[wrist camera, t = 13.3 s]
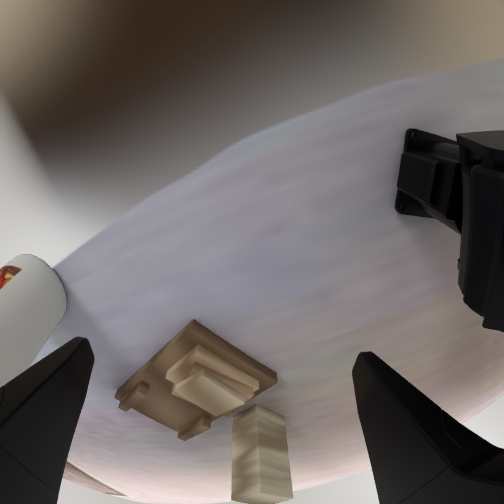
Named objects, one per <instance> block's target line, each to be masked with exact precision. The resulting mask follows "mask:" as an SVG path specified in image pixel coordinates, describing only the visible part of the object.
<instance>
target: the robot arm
mask: <svg viewBox="0 0 504 504" xmlns="http://www.w3.org/2000/svg"><path fill="white" fill-rule="evenodd" d="M412 132H413V133H414V137H413V138H412V137H411V134H412ZM456 138H457V142H456V141H453V140H450V139H447V138H444V137H441V136H438V135H435V134H431V133H428V132H425V131H421V130H418V129H413V128H409V129H408V130H407V131H406V136H405V144H404V152H403V154H402V157H401V164H400V171H399V177H398V183H397V187H398V191H397V197H396V202H395V210H396V211H397V212H398V213H400V214H404V215H412V216H420V217H428V218H435V219H437V220H439V221H440V222H442V223H444V224H445V225H447V226H448V227H450V228H451V229H453V230H454V231H456V232H457V233H459V234H460V235H461V246H460V259H458V269H459V275H458V284H459V287H460V289H461V292H462V294H463V295H464V297H463V301H464V302H465V303H466V304H467V305H468V306H469V308H470V309H472V310H473V311H474V312H476V313H477V314H479V315H480V316H482V317H484V320H483V324H482V326H483V327H484V328H487V329H493V330H499V331H502V332H504V131H503V130H498V131H483V132H470V133H460V134H456ZM401 205H403V208H402V209H400V206H401ZM93 364H94V354H93V351H92V349H91V346H90V343H89V341H88V339H87V338H83V337H75V338H73V339H72V340H70V341H69V342H67V343H66V344H64V345H63V346H61V347H60V348H58V349H57V350H55V351H54V352H52V353H51V354H49V355H48V356H46V357H45V358H43V359H42V360H40V361H39V362H37V363H36V364H34V365H33V366H31V367H30V368H28V369H27V370H25V371H24V372H22V373H21V374H19V375H18V376H16V377H15V378H13V379H12V380H10V381H9V382H7V383H6V384H5V385H3V386H1V387H0V504H57V500H58V494H59V490H60V485H61V481H62V477H63V473H64V469H65V465H66V461H67V457H68V453H69V450H70V446H71V442H72V439H73V436H74V432H75V429H76V426H77V422H78V419H79V416H80V413H81V410H82V407H83V404H84V401H85V397H86V394H87V389H88V385H89V381H90V376H91V372H92V368H93ZM352 377H353V383H354V389H355V396H356V403H357V409H358V415H359V419H360V423H361V426H362V430H363V434H364V438H365V442H366V446H367V450H368V454H369V458H370V463H371V467H372V471H373V475H374V480H375V484H376V489H377V493H378V498H379V503H380V504H504V449H502V448H499V447H496V446H494V445H492V444H491V443H489V442H488V441H486V440H485V439H483V438H481V437H480V436H478V435H477V434H475V433H474V432H472V431H471V430H469V429H468V428H466V427H465V426H463V425H462V424H461V423H459V422H458V421H457V420H455V419H454V418H453V417H451V416H450V415H449V414H448V413H446V412H445V411H444V410H441V408H440V407H439V406H438V405H436V404H435V403H434V402H433V401H432V400H430V399H429V398H428V397H427V396H425V395H424V394H423V393H422V392H421V391H419V390H418V389H417V388H416V387H414V386H413V385H412V384H411V383H410V382H408V381H407V380H406V379H405V378H403V377H402V376H401V375H400V374H399V373H397V372H396V371H395V370H394V369H392V368H391V367H390V366H389V365H388V364H386V363H385V362H384V361H383V360H381V359H380V358H379V357H378V356H377V355H375V354H374V353H373V352H370V351H368V352H360V353H359V355H358V357H357V359H356V362H355V364H354V367H353V370H352Z"/></svg>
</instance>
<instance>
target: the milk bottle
mask: <svg viewBox="0 0 504 504" xmlns="http://www.w3.org/2000/svg"><path fill="white" fill-rule="evenodd" d="M66 305H67V300H66V294H65V290H64V287H63V285H62V283H61V281H60V279H59V277H58V276H57V274H56V273H55V272H54V270H53V269H52V268H51V267H50V266H49V265H48V264H47V263H46V262H44V261H43V260H42V259H40V258H38V257H37V256H34V255H29V254H23V255H18V256H17V257H15V258H14V259H12V260H11V261H9V262H8V263H7V264H6V265H4V266H3V267H2V268H1V269H0V387H1V386H3V385H5V384H6V383H7V382H9V381H10V380H12V379H13V378H15V377H16V376H18V375H19V374H21V373H22V372H24V371H25V370H27V369H28V368H29V366H30V365H31V363H32V362H33V360H34V359H35V357H36V356H37V354H38V353H39V351H40V350H41V348H42V347H43V345H44V344H45V342H46V341H47V340H48V338H49V337H50V335H51V334H52V332H53V331H54V330H55V328H56V327H57V325H58V324H59V323H60V321H61V320H62V318H63V317H64V315H65V312H66Z"/></svg>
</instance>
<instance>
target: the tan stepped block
mask: <svg viewBox="0 0 504 504" xmlns="http://www.w3.org/2000/svg"><path fill="white" fill-rule="evenodd" d="M275 383H277V373H276V372H274V371H272V370H271V369H269V368H267V367H266V366H264V365H262V364H261V363H259V362H257V361H256V360H254V359H253V358H251V357H250V356H248V355H246V354H245V353H243V352H242V351H240V350H239V349H237V348H235V347H234V346H232V345H231V344H229V343H228V342H226V341H225V340H223V339H222V338H220V337H219V336H217V335H216V334H214V333H213V332H211V331H210V330H208V329H207V328H206V327H204V326H203V325H201V324H200V323H198V322H197V321H195V320H194V319H193V320H192V321H191V322H190V323H189V324H188V325H187V326H186V327H185V328H184V329H183V330H182V331H180V332H179V333H178V334H177V335H176V336H175V337H174V338H173V339H172V340H171V341H170V342H169V343H168V344H167V345H165V346H164V347H163V348H162V349H161V350H160V351H159V352H158V353H157V354H156V355H155V356H154V357H153V358H151V359H150V360H149V361H148V362H147V363H146V364H145V365H144V366H143V367H142V368H141V369H140V370H139V371H137V372H136V373H135V374H134V375H133V376H132V377H131V378H130V379H129V380H128V381H127V382H126V383H124V384H123V385H122V386H121V387H120V388H119V389H118V390H117V392H116V395H115V397H114V398H115V399H117V400H119V401H120V404H119V407H118V408H120V409H122V410H124V411H125V412H127V411H128V410H129V409H131V408H133V409H134V410H136V411H138V412H140V413H142V414H144V415H145V416H147V417H149V418H151V419H153V420H155V421H157V422H159V423H161V424H163V425H165V426H167V427H169V428H171V429H173V430H175V431H178V438H179V439H181V440H184V441H185V440H188V439H190V438H192V437H194V436H196V435H198V434H200V433H202V432H204V431H206V430H208V429H210V424H211V421H213V420H215V419H217V418H219V417H220V416H222V415H225V416H229V415H230V414H231V413H232V412H234V411H235V410H236V409H238V408H239V407H240V406H241V405H243V404H245V402H247V401H248V400H250V399H251V398H253V397H255V396H256V395H258V394H260V393H261V392H263V391H264V390H266V389H268V388H269V387H271V386H272V385H274V384H275Z"/></svg>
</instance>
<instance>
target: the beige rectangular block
mask: <svg viewBox="0 0 504 504" xmlns="http://www.w3.org/2000/svg"><path fill="white" fill-rule="evenodd" d="M289 499H293V491H292V482H291V473H290V463H289V455H288V446H287V437H286V428H285V420H284V417H283V416H281V415H279V414H277V413H274V412H272V411H270V410H268V409H266V408H264V407H262V406H260V405H258V404H256V405H254V406H253V407H251V408H249V409H247V410H246V411H244V412H242V413H240V414H239V415H237V416H235V417H233V438H232V495H231V500H233V501H237V502H242V503H248V504H275V503H279V502H282V501H286V500H289Z"/></svg>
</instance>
